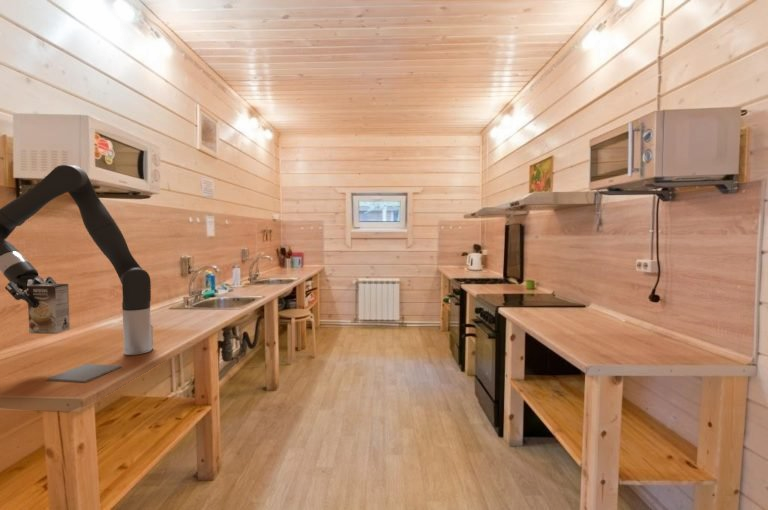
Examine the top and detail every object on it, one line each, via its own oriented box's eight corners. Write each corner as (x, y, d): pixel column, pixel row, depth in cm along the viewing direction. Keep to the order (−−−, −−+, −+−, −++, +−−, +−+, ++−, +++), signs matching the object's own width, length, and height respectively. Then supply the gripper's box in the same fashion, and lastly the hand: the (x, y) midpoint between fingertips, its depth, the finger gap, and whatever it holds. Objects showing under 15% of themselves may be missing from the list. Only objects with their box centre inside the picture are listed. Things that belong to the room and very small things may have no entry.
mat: (86, 365, 138) (85, 363, 138) (121, 367, 136) (121, 365, 136) (46, 380, 124) (46, 378, 124) (85, 382, 122) (85, 380, 122)
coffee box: (27, 334, 129) (25, 285, 127) (43, 329, 135) (41, 282, 134) (56, 334, 129) (54, 286, 128) (71, 329, 135) (69, 283, 134)
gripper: (-1, 262, 124) (32, 300, 123) (44, 258, 138) (74, 292, 138) (-14, 278, 125) (19, 316, 125) (32, 273, 139) (62, 306, 139)
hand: (48, 303), depth 131 cm, fingers closed on coffee box, 7 cm apart
